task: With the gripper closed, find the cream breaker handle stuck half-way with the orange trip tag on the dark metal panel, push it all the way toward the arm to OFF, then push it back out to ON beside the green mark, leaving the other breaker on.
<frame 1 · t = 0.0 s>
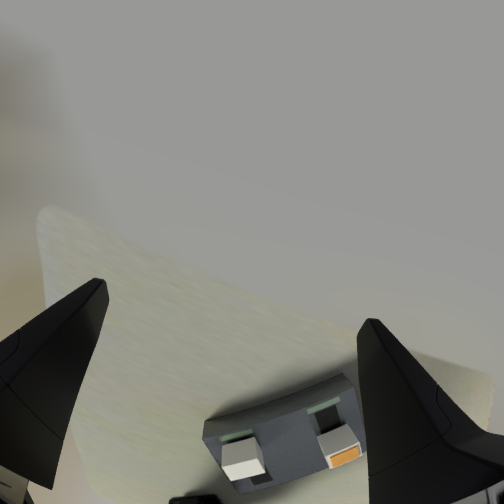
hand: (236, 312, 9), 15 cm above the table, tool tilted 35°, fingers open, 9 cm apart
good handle: (242, 459, 20), point 5 cm above the table, slide at 2.5 cm
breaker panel: (287, 432, 25), on the table
tripped handle: (339, 447, 20), point 5 cm above the table, slide at 0.0 cm
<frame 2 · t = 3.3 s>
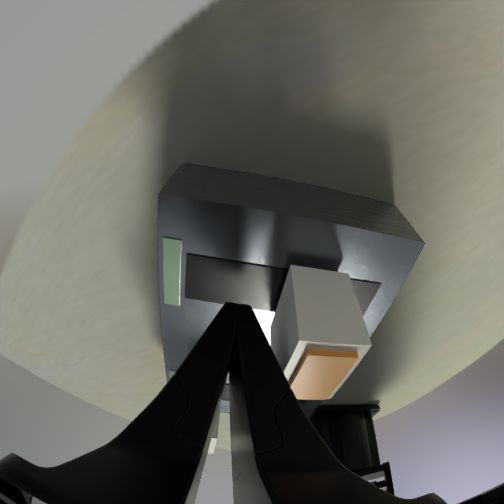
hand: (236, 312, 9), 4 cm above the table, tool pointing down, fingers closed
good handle: (198, 418, 13), point 5 cm above the table, slide at 2.5 cm
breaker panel: (262, 309, 15), on the table
tripped handle: (312, 337, 9), point 5 cm above the table, slide at -0.8 cm, touching gripper
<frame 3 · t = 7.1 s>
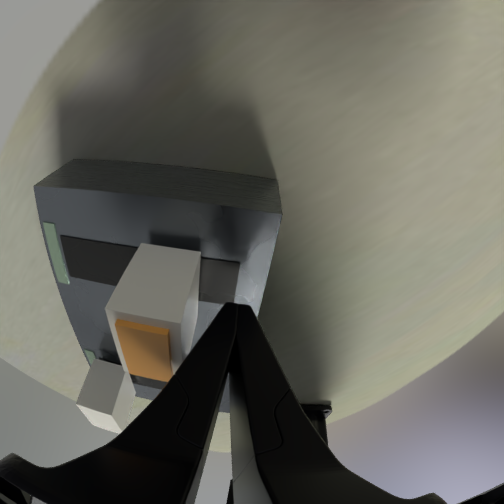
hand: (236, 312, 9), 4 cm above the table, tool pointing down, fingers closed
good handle: (108, 398, 13), point 5 cm above the table, slide at 2.5 cm
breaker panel: (165, 294, 15), on the table
tripped handle: (159, 316, 9), point 5 cm above the table, slide at -1.2 cm, touching gripper
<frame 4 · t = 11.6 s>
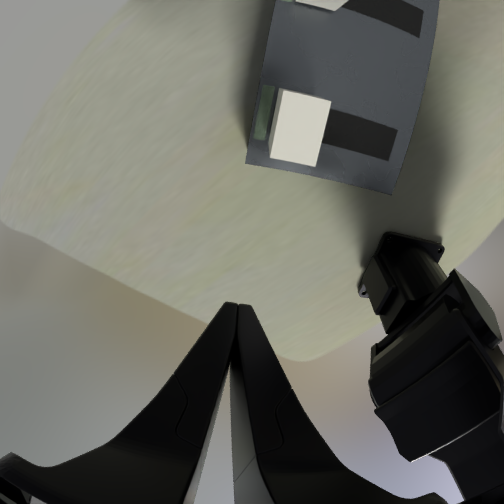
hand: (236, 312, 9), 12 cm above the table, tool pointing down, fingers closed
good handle: (296, 123, 12), point 5 cm above the table, slide at 2.5 cm
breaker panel: (339, 62, 14), on the table
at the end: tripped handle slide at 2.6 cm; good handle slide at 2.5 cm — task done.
